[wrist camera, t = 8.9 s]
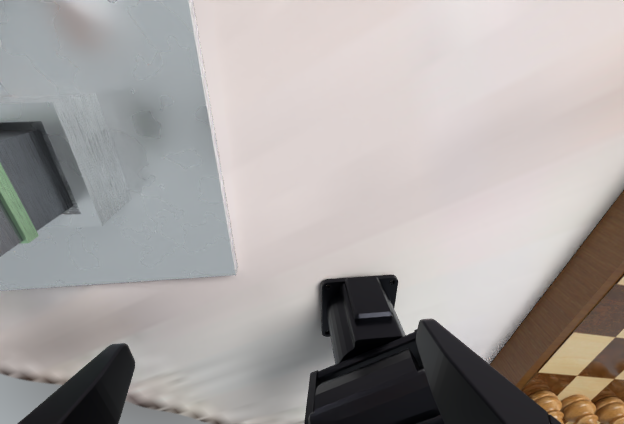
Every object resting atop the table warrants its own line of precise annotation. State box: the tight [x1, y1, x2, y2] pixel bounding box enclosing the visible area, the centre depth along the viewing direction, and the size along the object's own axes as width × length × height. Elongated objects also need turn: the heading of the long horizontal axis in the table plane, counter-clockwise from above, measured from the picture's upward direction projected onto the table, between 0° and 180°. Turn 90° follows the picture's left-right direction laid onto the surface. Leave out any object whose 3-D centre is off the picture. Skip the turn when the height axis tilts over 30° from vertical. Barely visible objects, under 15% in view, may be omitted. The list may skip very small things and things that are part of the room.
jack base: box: [0, 0, 238, 291], centre depth 14 cm, size 20×18×9 cm
